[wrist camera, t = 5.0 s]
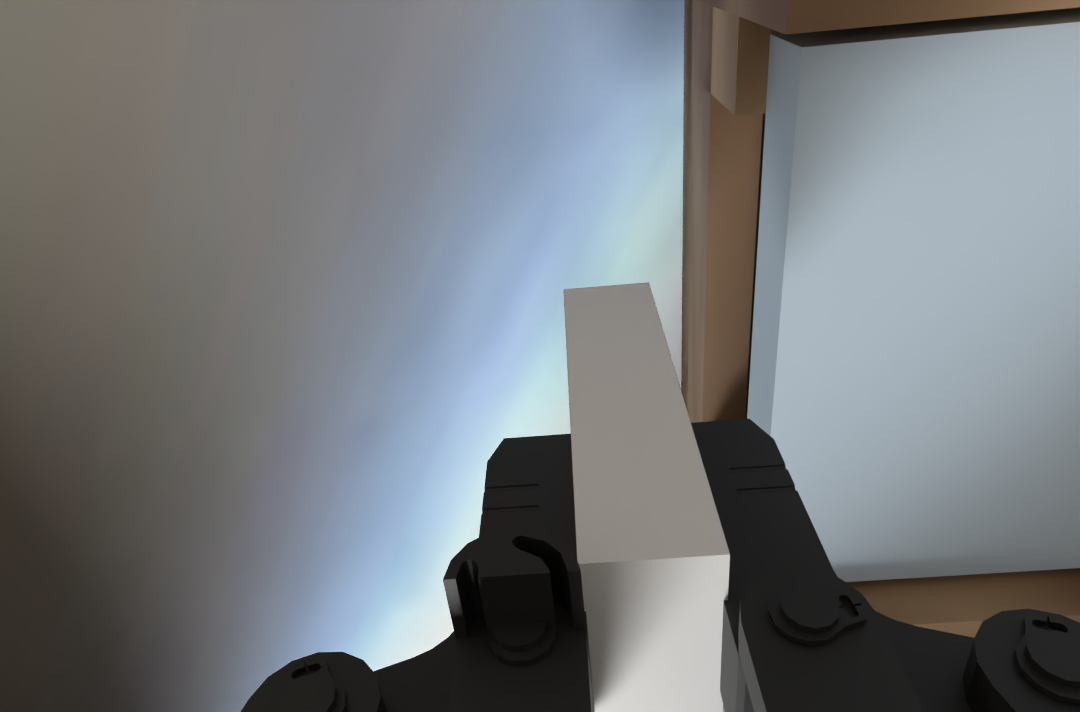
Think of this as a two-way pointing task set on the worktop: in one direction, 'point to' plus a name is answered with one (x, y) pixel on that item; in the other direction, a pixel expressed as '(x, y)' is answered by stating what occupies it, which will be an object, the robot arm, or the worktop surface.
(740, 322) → the box
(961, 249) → the lid
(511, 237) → the worktop surface
